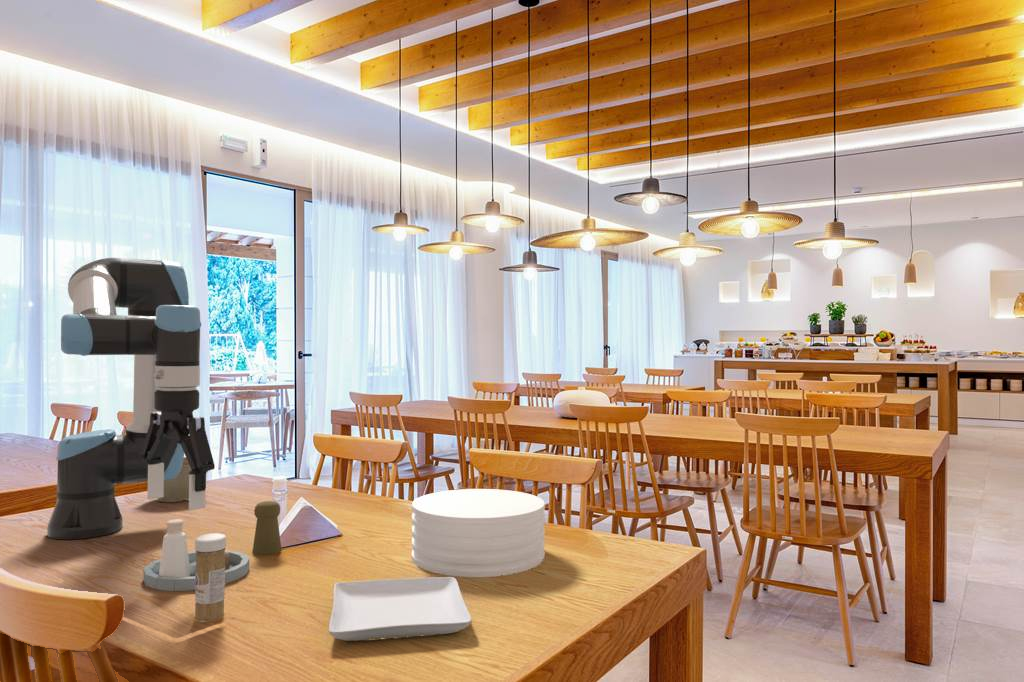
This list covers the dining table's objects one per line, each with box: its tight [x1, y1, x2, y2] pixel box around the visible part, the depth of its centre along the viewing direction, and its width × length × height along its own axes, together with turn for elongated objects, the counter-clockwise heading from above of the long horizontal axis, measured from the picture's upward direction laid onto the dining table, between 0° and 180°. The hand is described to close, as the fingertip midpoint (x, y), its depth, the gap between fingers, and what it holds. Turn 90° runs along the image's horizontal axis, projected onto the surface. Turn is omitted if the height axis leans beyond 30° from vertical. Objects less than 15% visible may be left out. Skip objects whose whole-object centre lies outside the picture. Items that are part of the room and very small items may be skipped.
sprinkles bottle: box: [193, 532, 227, 623], centre depth 112 cm, size 5×5×14 cm
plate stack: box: [411, 488, 546, 578], centre depth 148 cm, size 28×28×12 cm
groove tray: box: [143, 549, 250, 592], centre depth 133 cm, size 18×18×3 cm
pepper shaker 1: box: [159, 518, 191, 577], centre depth 129 cm, size 5×5×11 cm
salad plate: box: [328, 576, 473, 642], centre depth 114 cm, size 21×21×3 cm
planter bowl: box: [157, 456, 208, 503], centre depth 201 cm, size 16×16×11 cm
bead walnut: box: [225, 552, 230, 570], centre depth 132 cm, size 4×4×4 cm
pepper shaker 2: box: [251, 500, 282, 556], centre depth 148 cm, size 6×6×11 cm
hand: (175, 503), depth 130 cm, fingers open, 13 cm apart
